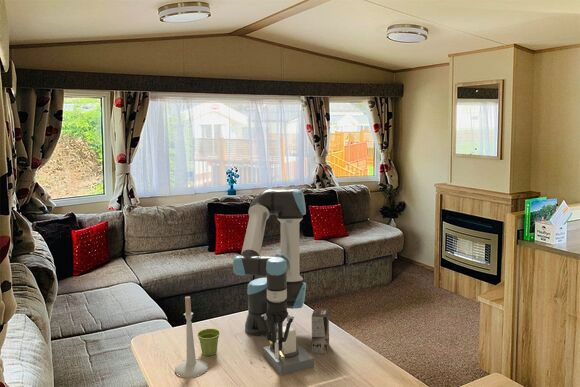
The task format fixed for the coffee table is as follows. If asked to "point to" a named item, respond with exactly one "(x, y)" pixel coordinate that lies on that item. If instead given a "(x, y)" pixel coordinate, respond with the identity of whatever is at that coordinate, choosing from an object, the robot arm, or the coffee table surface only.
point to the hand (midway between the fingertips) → (277, 357)
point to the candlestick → (190, 350)
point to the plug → (289, 343)
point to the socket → (289, 360)
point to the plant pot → (208, 341)
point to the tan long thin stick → (280, 351)
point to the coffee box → (320, 330)
